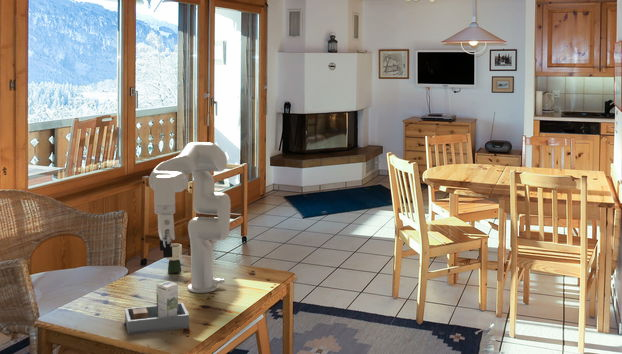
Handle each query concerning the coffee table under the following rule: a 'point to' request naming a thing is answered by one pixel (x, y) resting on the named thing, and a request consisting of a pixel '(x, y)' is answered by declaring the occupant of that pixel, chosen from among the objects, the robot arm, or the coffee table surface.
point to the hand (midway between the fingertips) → (166, 253)
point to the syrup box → (167, 299)
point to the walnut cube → (140, 313)
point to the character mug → (175, 259)
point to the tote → (156, 320)
